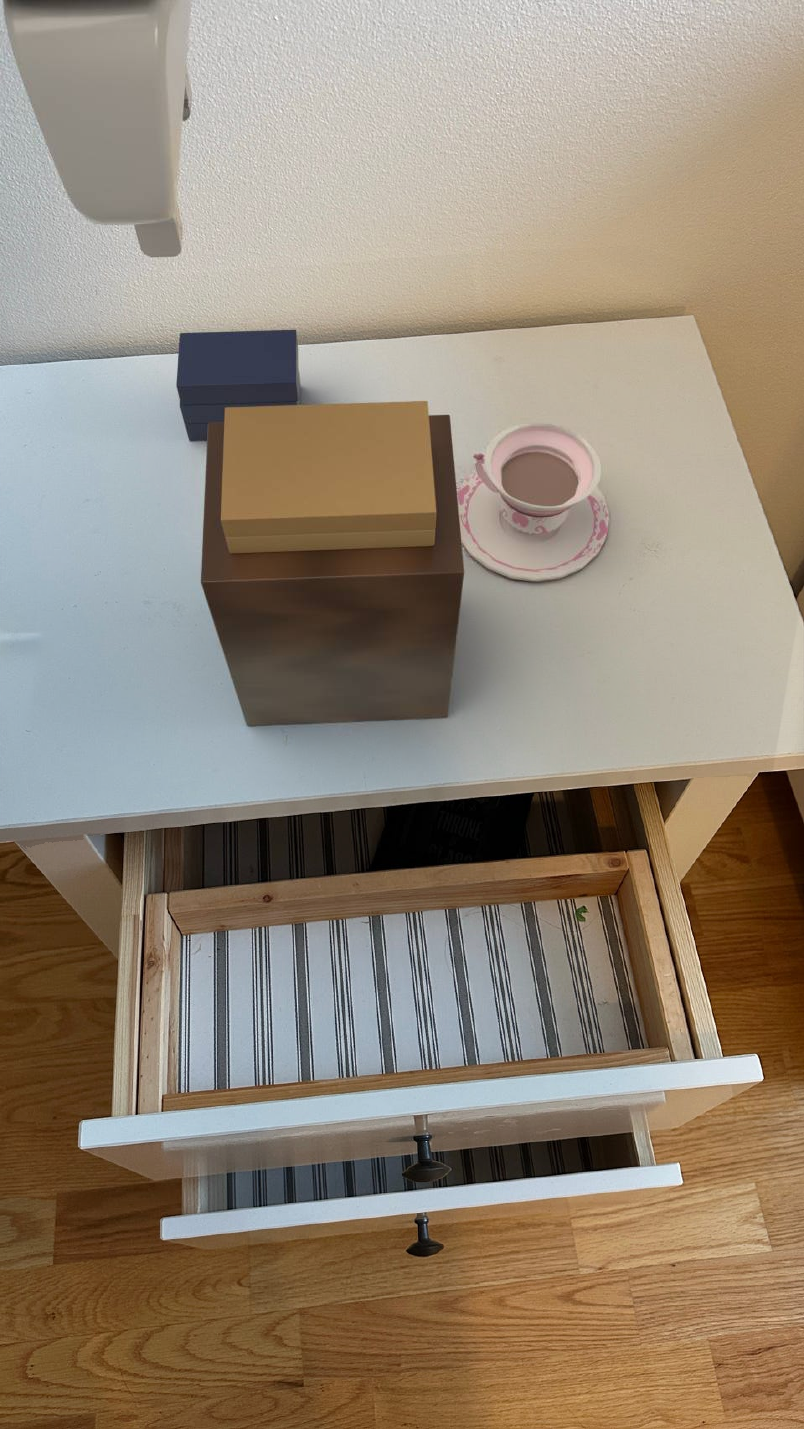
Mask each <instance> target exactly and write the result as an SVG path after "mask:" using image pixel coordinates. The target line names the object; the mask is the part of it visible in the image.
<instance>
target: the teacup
mask: <svg viewBox="0 0 804 1429" xmlns="http://www.w3.org/2000/svg"><path fill="white" fill-rule="evenodd" d="M473 458H474V459H475V460H476V462H475V464H474V468H475V469H474V470H473V471H472V472H471V473H470V474H469V475H467V476H466V477H465V479H464V481H463V482H462V484H461V486H460V488H459V489H458V490H457V498H458V509H459V520H460V530H461V541H462V546H463V547H464V549H465V550H466V551H467V553H468V554H469V556H471V557H472V558H473V559H474V560H475V561H477V562H479V563H480V564H481V565H482V566H483V567H484V568H486V569H487V570H489V571H492V572H494V573H497V574H499V575H501V576H504V577H506V578H508V579H511V580H518V581H519V580H520V581H527V582H535V583H537V582H544V581H552V580H559V579H564V578H565V577H567V576H569V575H571V574H574V573H576V572H577V571H580V570H582V569H583V568H585V567H586V566H587V565H588V564H589V563H590V562H591V561H593V559H594V558H595V557H597V556H598V555H599V553H600V551H601V548H602V547H603V545H604V542H605V541H606V539H607V537H608V534H609V522H610V513H609V509H608V505H607V504H606V503H607V502H606V499H605V496H604V494H603V493H602V491H601V490H600V489H599V487H598V485H599V483H600V481H601V477H602V464H601V460H600V458H599V455H598V453H597V451H596V450H595V448H594V447H593V446H592V445H591V444H590V443H589V441H587V440H586V439H585V438H583V437H582V436H581V435H579V434H578V433H577V432H574V431H571V430H570V429H567V428H565V427H563V426H559V425H556V424H551V423H545V422H528V423H521V424H516V425H512V426H510V427H508V428H506V429H504V430H502V431H500V432H499V433H498V434H496V435H495V436H494V437H493V438H492V439H491V440H490V441H489V443H488V444H487V447H486V448H485V453H484V454H482V453H481V452H480V453H478V454H477V453H474V454H473Z"/></svg>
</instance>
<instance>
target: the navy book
mask: <svg viewBox="0 0 804 1429" xmlns="http://www.w3.org/2000/svg"><path fill="white" fill-rule="evenodd" d="M297 333H298V332H297V329H272V330H271V329H269V330H268V329H267V330H235V331H234V330H232V331H203V332H201V331H200V332H198V331H197V332H179V340H178V357H177V369H176V383H175V384H176V386H175V387H176V390H177V394H178V398H179V403H180V402H181V405H197V404H228V403H260V402H291V401H298V367H299V344H298V335H297Z"/></svg>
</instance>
